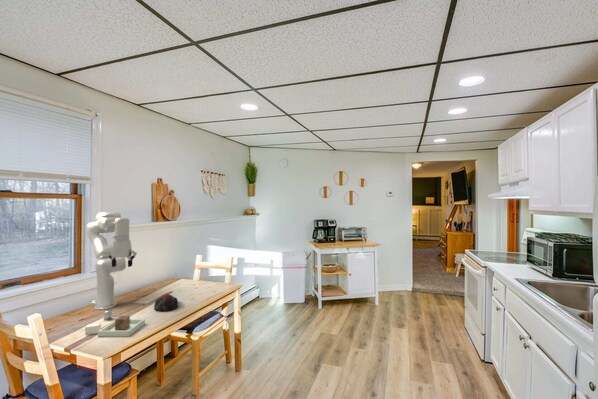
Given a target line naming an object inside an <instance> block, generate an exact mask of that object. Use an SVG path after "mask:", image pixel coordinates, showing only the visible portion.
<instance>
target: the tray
mask: <svg viewBox="0 0 598 399" xmlns="http://www.w3.org/2000/svg"><path fill="white" fill-rule="evenodd" d="M145 324H146V318H145V319H144V318H142V319H140V318H138V319H137V318H136V319H133V318H132V319H131V318H130V327H129V328H127V329H126V330H125V331H115V320H114V321H112V322H110V323H109V324H107V325H105V326H103V328H102V327H101V330H99V331H98V333H97V337H130V336H131V335H133V333H135V332H137V330H139V329H141V328H142V327H143V326H144V325H145Z"/></svg>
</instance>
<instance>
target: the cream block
mask: <svg viewBox="0 0 598 399" xmlns="http://www.w3.org/2000/svg"><path fill="white" fill-rule="evenodd" d="M101 329H102V323H101V322H97V323H88V324H87V325H86V326H85V327H84V335H85V336H86V335H94V334H98V331H99V330H101Z"/></svg>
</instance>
